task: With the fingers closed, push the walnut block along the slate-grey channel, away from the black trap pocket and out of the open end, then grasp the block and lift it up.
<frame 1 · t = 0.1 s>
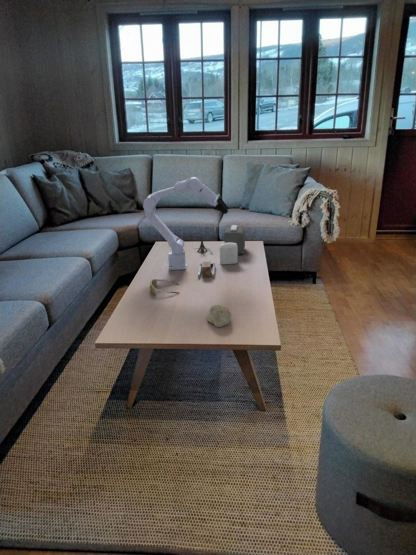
hand: (227, 210, 221), 32 cm above the table, tool tilted 50°, fingers open, 7 cm apart
photo printer: (228, 263, 238), on the table
walnut block: (206, 274, 224), resting in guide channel
eiffel tower figurine: (203, 252, 258), on the table
decorative item: (219, 321, 176), on the table
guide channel: (206, 272, 226), on the table
alarm clock: (235, 251, 256), on the table
sunglasses: (165, 290, 208), on the table
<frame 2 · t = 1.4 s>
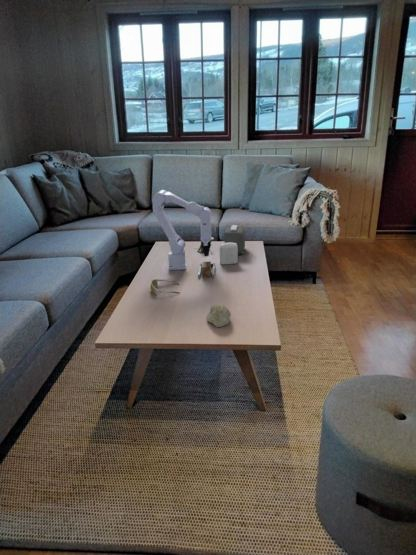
hand: (206, 254, 229), 8 cm above the table, tool pointing down, fingers open, 6 cm apart
nothing on the table moved.
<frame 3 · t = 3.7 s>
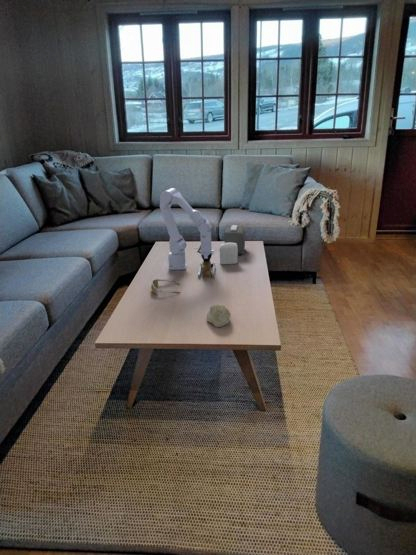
hand: (207, 266, 228), 2 cm above the table, tool pointing down, fingers closed
walnut block: (206, 274, 224), resting in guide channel, touching gripper
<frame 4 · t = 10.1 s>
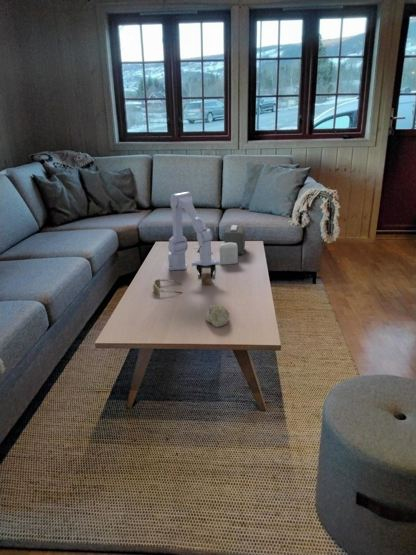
hand: (206, 278, 214), 2 cm above the table, tool pointing down, fingers closed on walnut block, 4 cm apart
walnut block: (206, 282, 214), on the table, touching gripper
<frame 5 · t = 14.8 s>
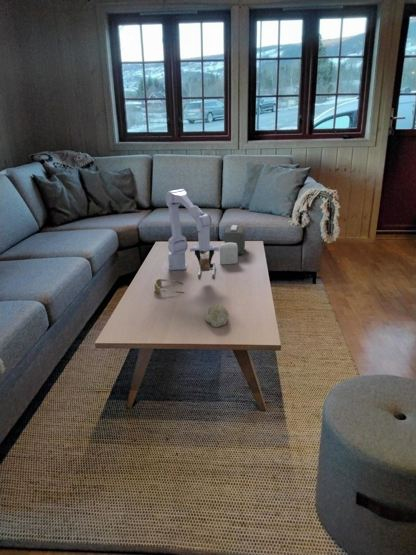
hand: (205, 264, 212), 9 cm above the table, tool pointing down, fingers closed on walnut block, 4 cm apart
walnut block: (205, 268, 212), point 7 cm above the table, touching gripper
at the end: walnut block inside the target area (0.2 cm from its centre), point 7.5 cm above the table; the gripper is holding walnut block; walnut block touching gripper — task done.
